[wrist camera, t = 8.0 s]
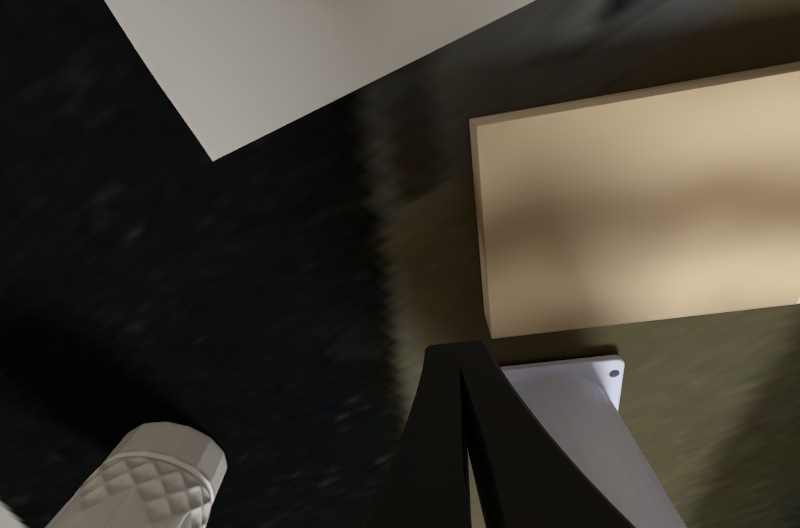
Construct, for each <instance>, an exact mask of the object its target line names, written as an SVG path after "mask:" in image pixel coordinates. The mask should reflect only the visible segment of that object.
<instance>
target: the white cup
mask: <svg viewBox="0 0 800 528" xmlns="http://www.w3.org/2000/svg"><path fill="white" fill-rule="evenodd" d="M226 470H227V463H226V458H225V454H224V451H223V450H222V449H221V448H220V447H219V446H218V445H217V444H216V442H215V441H214V440H213V439H212V438H211V437H209V436H207V435H205V434H203V433H201V432H199V431H198V430H196V429H194V428H192V427H189V426H185V425H181V424H176V423H171V422H153V423H144V424H142V425H140V426H139V427H137V428H135V429H133V430H132V431H130V432H128V433H127V434H126V436H125V437H124V438H123V439H122V440H121V442H120V443H119V444H118V445H117V446H116V448H115V449H114V450H113V451H112V453H111V454H110V455H109V456H108V457H107V459H106V460H105V461H104V462H103V464H102V465H101V466H100V467H99V468H98V469H97V470H96V471H95V472H94V473H93V474H92V475H91V476H90V477H89V478H88V479H87V480H86V481H85V482H84V483H83V484H82V486H81V487H80V488H79V489H78V491H77V492H76V493H75V495H74V496H73V497H72V498H71V499H70V500H69V501H68V502H67V503H66V504H65V505H64V506H63V507H62V508H61V510H60V511H59V512H58V513H57V514H56V515H55V516H54V518H53V519H52V520H51V521H50V522H49V523H48V525H47V526H46V527H45V528H205V527H206V524H207V521H208V519H209V516H210V510H211V506H212V504H213V502H214V499H215V496H216V494H217V492H218V489H219V487H220V484H221V482H222V479H223V477H224V475H225V472H226Z"/></svg>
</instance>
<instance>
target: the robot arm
mask: <svg viewBox="0 0 800 528" xmlns="http://www.w3.org/2000/svg"><path fill="white" fill-rule="evenodd" d="M624 365H625V364H624V361H623V360H622V359H621V357H620V356H618V355H607V356H598V357H589V358H579V359H570V360H561V361H551V362H542V363H533V364H523V365H514V366H504V367H500V366H499V365H498V363H497V362H496V360H495V358H494V356H493V355H492V353H491V351H490V349H489V347H488V345H487V344H486V343H485V342H484V341H482V340H480V341H469V342H459V343H449V344H438V345H429V346H428V347H427V348H426V349H425V357H424V364H423V369H422V373H421V378H420V381H419V385H418V389H417V392H416V396H415V399H414V402H413V405H412V408H411V411H410V414H409V417H408V420H407V423H406V426H405V428H404V431H403V433H402V436H401V438H400V441H399V443H398V446H397V448H396V451H395V453H394V456H393V459H392V461H391V463H390V466H389V468H388V470H387V472H386V475H385V477H384V479H383V481H382V484H381V486H380V488H379V490H378V492H377V494H376V496H375V498H374V500H373V502H372V504H371V506H370V508H369V510H368V513H367V515H366V516H365V518H364V520H363V522H362V524H361V526H360V528H472V526H471V507H470V488H469V469H468V452H469V457H470V461H471V465H472V470H473V474H474V478H475V483H476V487H477V491H478V495H479V500H480V504H481V508H482V513H483V517H484V521H485V525H486V528H687V527H686V525H685V524H684V522H683V520H682V519H681V517H680V515H679V514H678V512H677V510H676V509H675V507H674V505H673V504H672V502H671V500H670V498H669V497H668V495H667V493H666V492H665V490H664V488H663V487H662V485H661V483H660V482H659V480H658V478H657V477H656V475H655V473H654V472H653V470H652V468H651V467H650V465H649V463H648V461H647V460H646V458H645V456H644V455H643V453H642V451H641V450H640V448H639V446H638V445H637V443H636V441H635V440H634V438H633V436H632V435H631V433H630V431H629V429H628V428H627V426H626V424H625V423H624V421H623V419H622V418H621V416H620V414H619V413H618V408H619V401H620V394H621V387H622V380H623V373H624ZM613 370H614V371H613ZM611 371H612V372H611ZM467 448H468V450H467Z"/></svg>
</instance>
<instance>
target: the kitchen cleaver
mask: <svg viewBox="0 0 800 528" xmlns="http://www.w3.org/2000/svg"><path fill="white" fill-rule="evenodd" d="M533 1H535V0H105V2H106V3H107V5H108V7H109V8H110V10H111V11H112V13H113V15H114V16H115V18H116V19H117V21H118V22H119V24H120V26H121V27H122V29H123V30H124V32H125V33H126V35H127V37H128V38H129V40H130V41H131V43H132V44H133V46H134V47H135V49H136V50H137V52H138V54H139V55H140V57H141V58H142V60H143V61H144V63H145V64H146V66H147V67H148V69H149V70H150V72H151V73H152V75H153V76H154V78H155V79H156V80H157V82H158V83H159V85H160V86H161V88H162V89H163V91H164V92H165V93H166V95H167V96H168V98H169V99H170V101H171V102H172V103H173V105H174V106H175V108H176V109H177V110H178V112H179V113H180V115H181V116H182V118H183V119H184V120H185V122H186V123H187V125H188V126H189V127H190V129H191V130H192V132H193V133H194V134H195V136H196V137H197V139H198V140H199V142H200V143H201V145H202V146H203V148H204V149H205V150H206V152H207V153H208V155H209V157H210V158H211V160H212V161H214V160H216V159H218V158H220V157H222V156H224V155H226V154H228V153H230V152H232V151H234V150H236V149H238V148H240V147H242V146H244V145H246V144H248V143H250V142H252V141H254V140H256V139H258V138H260V137H262V136H264V135H266V134H268V133H270V132H272V131H274V130H276V129H278V128H280V127H282V126H284V125H286V124H288V123H290V122H292V121H294V120H296V119H298V118H300V117H302V116H304V115H306V114H308V113H310V112H312V111H314V110H316V109H318V108H320V107H322V106H324V105H326V104H328V103H330V102H332V101H334V100H336V99H338V98H340V97H343V96H345V95H347V94H349V93H351V92H353V91H355V90H357V89H359V88H361V87H363V86H365V85H367V84H369V83H371V82H373V81H375V80H377V79H379V78H381V77H383V76H385V75H387V74H389V73H391V72H393V71H395V70H397V69H399V68H401V67H403V66H405V65H407V64H409V63H411V62H413V61H415V60H417V59H419V58H421V57H423V56H425V55H427V54H429V53H431V52H433V51H435V50H437V49H439V48H441V47H443V46H445V45H447V44H449V43H451V42H453V41H455V40H457V39H459V38H461V37H463V36H465V35H467V34H469V33H471V32H473V31H475V30H477V29H479V28H481V27H483V26H485V25H487V24H489V23H491V22H493V21H495V20H497V19H499V18H501V17H503V16H505V15H507V14H509V13H511V12H513V11H515V10H517V9H519V8H521V7H523V6H525V5H527V4H529V3H531V2H533Z"/></svg>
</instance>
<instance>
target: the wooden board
mask: <svg viewBox="0 0 800 528" xmlns="http://www.w3.org/2000/svg"><path fill="white" fill-rule="evenodd" d="M469 126H470V139H471V151H472V164H473V176H474V189H475V201H476V214H477V226H478V239H479V252H480V264H481V277H482V289H483V302H484V314H485V317H486V321H487V324H488V327H489V331H490V334H491V338H492V339H494V338H502V337H511V336H520V335H529V334H537V333H546V332H555V331H564V330H572V329H581V328H590V327H599V326H607V325H616V324H625V323H633V322H642V321H651V320H660V319H668V318H677V317H686V316H695V315H703V314H712V313H721V312H729V311H738V310H747V309H756V308H764V307H773V306H782V305H791V304H797V302H798V300H799V297H800V61H799V62H793V63H788V64H782V65H776V66H770V67H765V68H759V69H753V70H747V71H742V72H736V73H730V74H724V75H719V76H713V77H707V78H701V79H696V80H690V81H684V82H678V83H673V84H667V85H661V86H655V87H650V88H644V89H638V90H632V91H627V92H621V93H615V94H609V95H604V96H598V97H592V98H586V99H581V100H575V101H569V102H563V103H558V104H552V105H546V106H540V107H535V108H529V109H523V110H517V111H512V112H506V113H500V114H494V115H489V116H483V117H477V118H472V119H469Z"/></svg>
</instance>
